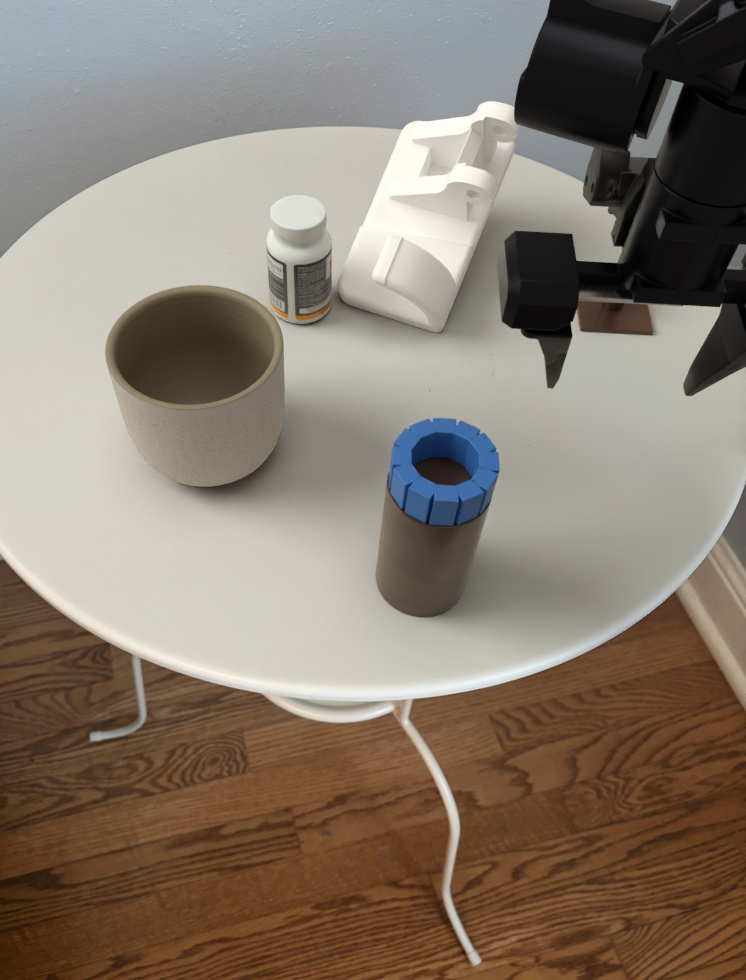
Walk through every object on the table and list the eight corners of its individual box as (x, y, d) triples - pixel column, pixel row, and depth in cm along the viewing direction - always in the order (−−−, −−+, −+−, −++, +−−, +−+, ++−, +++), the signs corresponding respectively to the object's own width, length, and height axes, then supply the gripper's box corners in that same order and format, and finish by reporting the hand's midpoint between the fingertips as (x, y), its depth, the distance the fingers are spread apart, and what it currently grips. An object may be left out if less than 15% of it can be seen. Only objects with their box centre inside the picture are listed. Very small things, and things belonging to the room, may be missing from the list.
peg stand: (641, 286, 80) (655, 252, 77) (652, 335, 76) (667, 301, 73) (572, 283, 80) (583, 248, 77) (580, 330, 76) (592, 297, 73)
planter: (311, 413, 70) (311, 312, 61) (246, 526, 63) (235, 432, 54) (178, 370, 72) (159, 266, 63) (103, 475, 66) (69, 376, 57)
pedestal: (463, 542, 63) (490, 446, 54) (466, 619, 60) (495, 531, 50) (376, 537, 63) (387, 440, 54) (374, 614, 60) (385, 525, 50)
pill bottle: (334, 287, 79) (336, 193, 70) (327, 329, 75) (329, 235, 67) (274, 282, 79) (269, 187, 70) (265, 324, 76) (259, 229, 67)
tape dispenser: (450, 358, 81) (445, 301, 68) (342, 323, 83) (318, 261, 70) (524, 173, 82) (532, 84, 69) (416, 144, 84) (405, 51, 72)
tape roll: (489, 446, 54) (496, 420, 52) (494, 528, 50) (502, 504, 48) (389, 441, 54) (393, 414, 52) (388, 522, 50) (391, 498, 48)
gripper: (847, 98, 47) (732, 312, 60) (518, 81, 47) (474, 298, 60) (911, 221, 41) (768, 430, 54) (533, 200, 41) (480, 414, 54)
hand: (618, 387), depth 56 cm, fingers open, 9 cm apart
